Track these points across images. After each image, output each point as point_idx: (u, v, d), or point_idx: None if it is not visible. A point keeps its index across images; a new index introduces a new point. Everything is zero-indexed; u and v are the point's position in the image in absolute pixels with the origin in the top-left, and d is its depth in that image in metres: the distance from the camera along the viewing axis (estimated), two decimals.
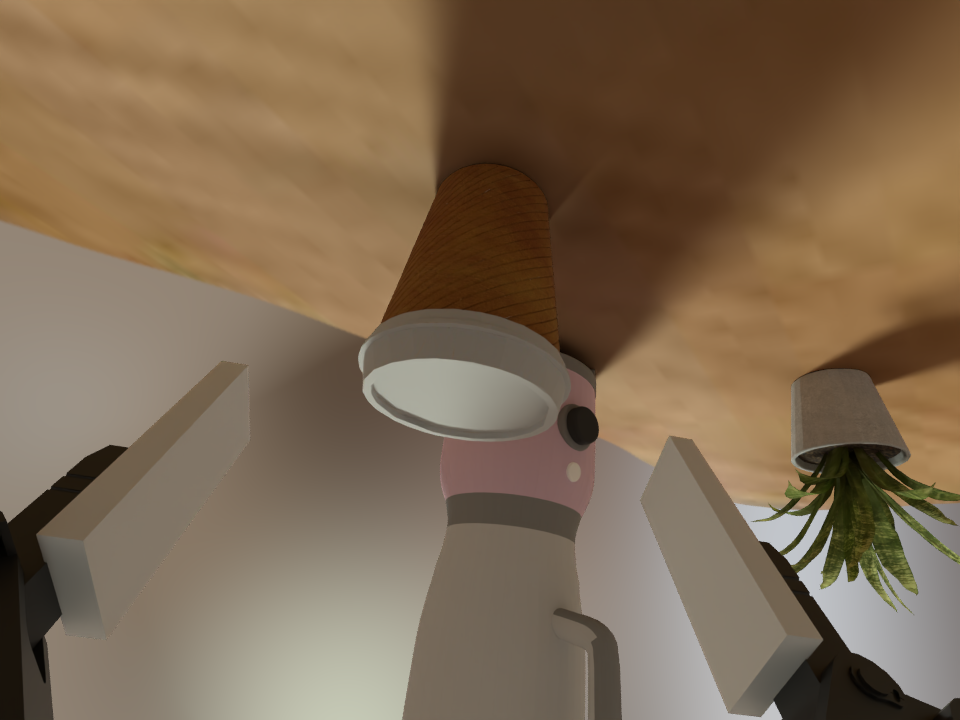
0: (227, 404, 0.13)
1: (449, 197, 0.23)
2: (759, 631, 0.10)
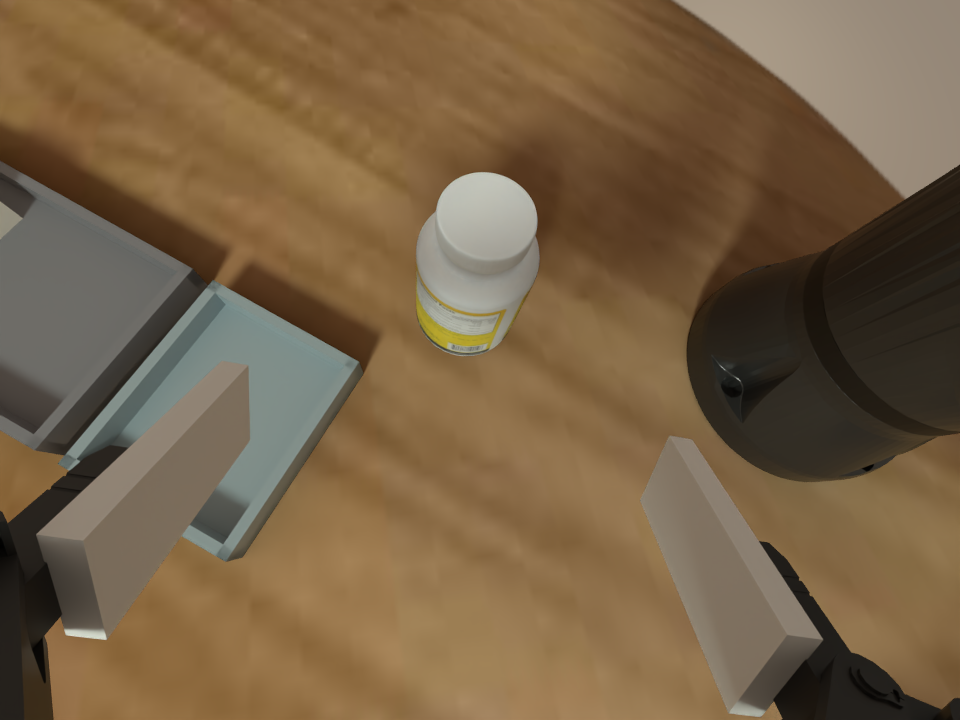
0: (228, 404, 0.13)
1: None
2: (759, 631, 0.10)
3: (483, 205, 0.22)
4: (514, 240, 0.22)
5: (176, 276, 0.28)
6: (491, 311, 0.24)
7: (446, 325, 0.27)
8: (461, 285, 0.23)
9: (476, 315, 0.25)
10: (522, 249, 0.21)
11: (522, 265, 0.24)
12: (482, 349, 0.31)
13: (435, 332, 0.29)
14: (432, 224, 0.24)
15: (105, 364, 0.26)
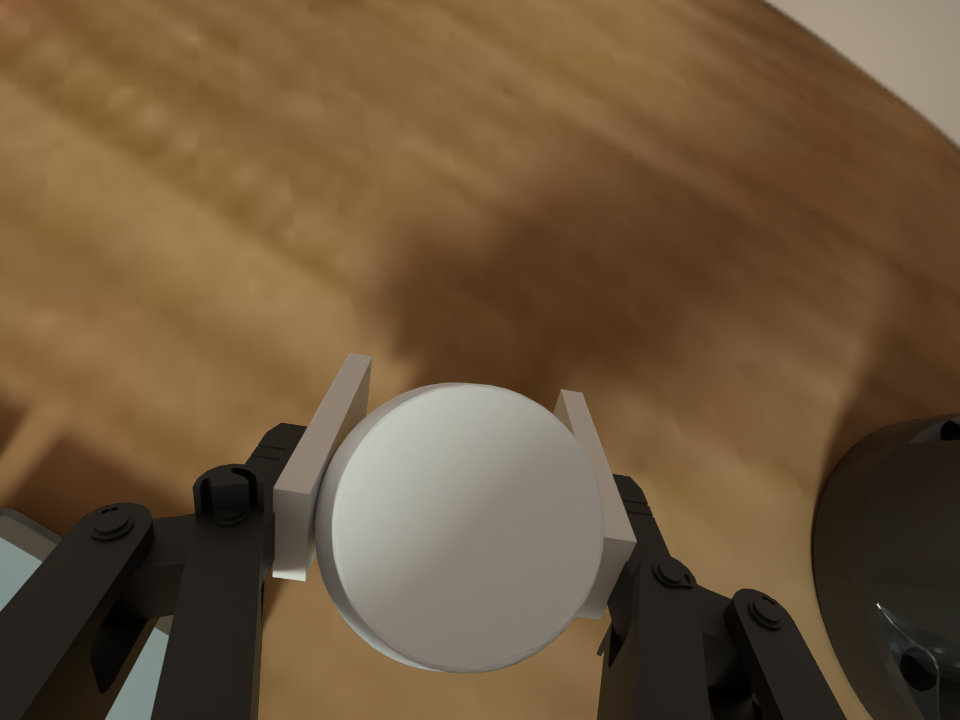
0: (362, 389, 0.15)
1: None
2: None
3: (461, 488, 0.08)
4: (546, 596, 0.08)
5: None
6: None
7: None
8: None
9: None
10: None
11: None
12: None
13: None
14: None
15: None
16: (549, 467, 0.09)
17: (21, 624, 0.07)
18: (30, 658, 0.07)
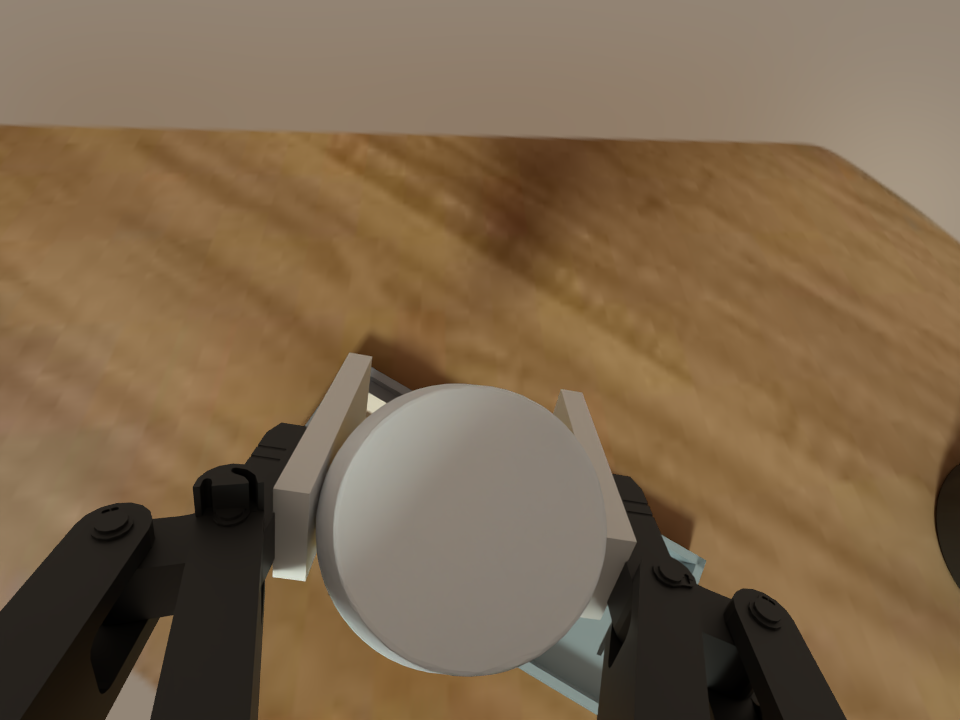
0: (362, 390, 0.15)
1: None
2: None
3: (463, 490, 0.08)
4: (548, 599, 0.08)
5: None
6: None
7: None
8: None
9: None
10: (572, 625, 0.08)
11: None
12: None
13: None
14: None
15: None
16: (551, 469, 0.08)
17: (21, 624, 0.07)
18: (30, 658, 0.07)
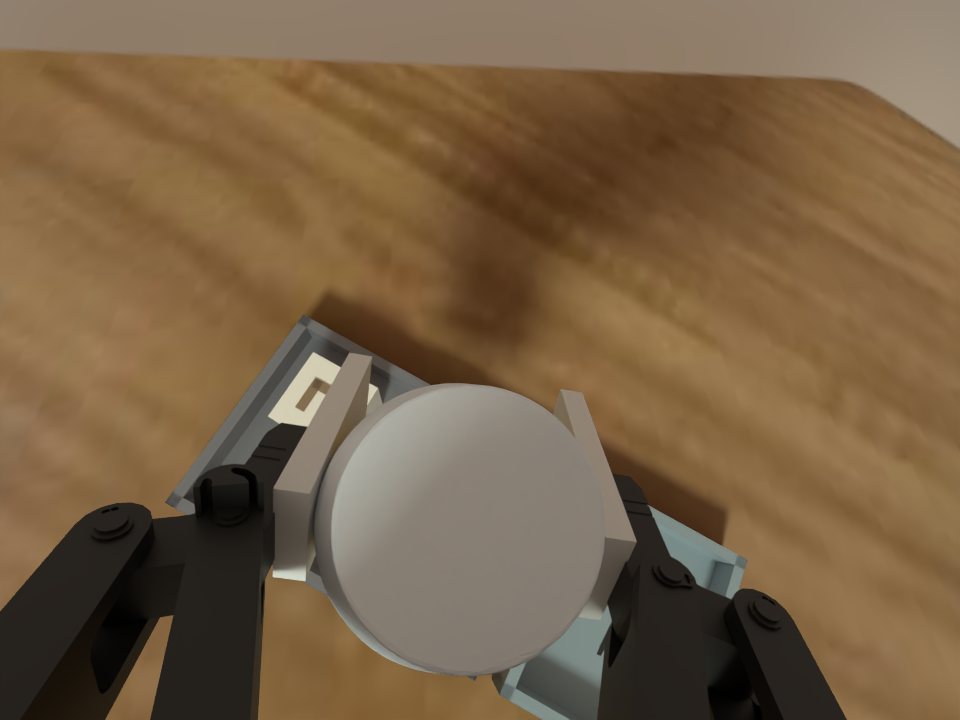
0: (362, 389, 0.15)
1: None
2: None
3: (461, 490, 0.08)
4: (546, 598, 0.08)
5: None
6: None
7: None
8: None
9: None
10: (569, 625, 0.08)
11: None
12: None
13: None
14: None
15: None
16: (550, 468, 0.08)
17: (21, 624, 0.07)
18: (30, 658, 0.07)
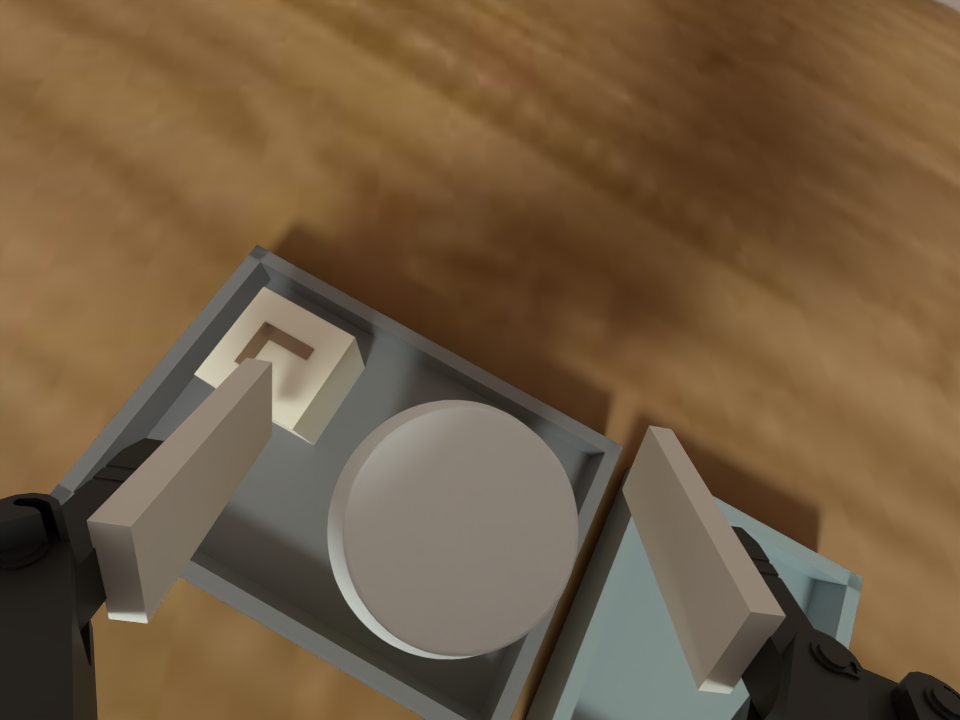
0: (254, 399, 0.13)
1: None
2: (726, 609, 0.10)
3: (454, 498, 0.10)
4: (526, 592, 0.09)
5: (605, 459, 0.20)
6: None
7: None
8: None
9: None
10: (546, 615, 0.09)
11: None
12: None
13: None
14: None
15: None
16: (531, 480, 0.10)
17: None
18: None
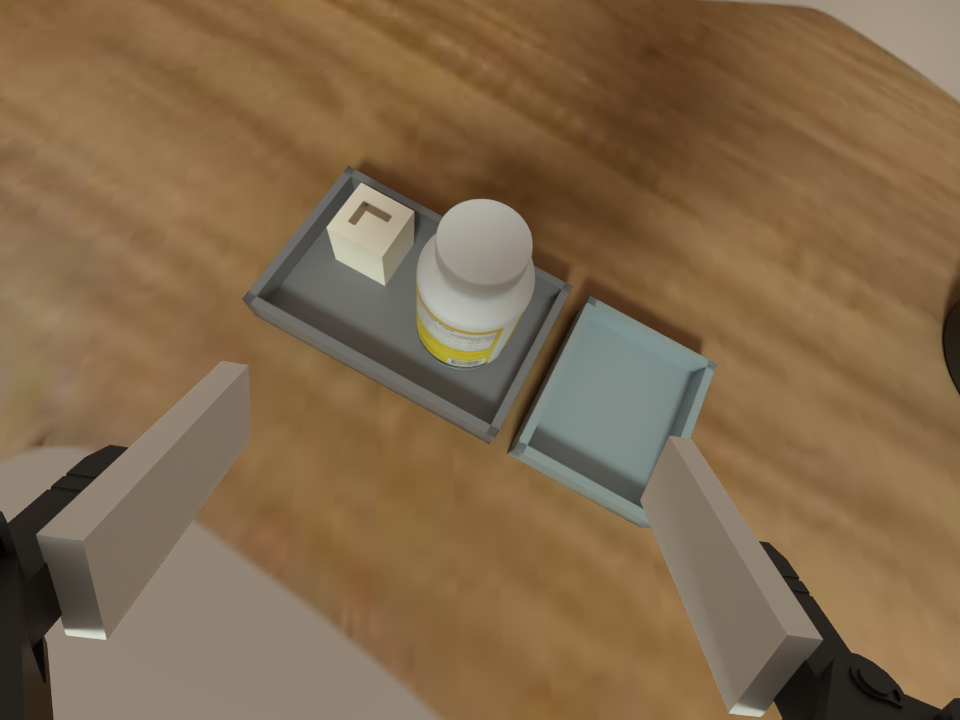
0: (227, 404, 0.13)
1: None
2: (759, 631, 0.10)
3: (481, 231, 0.23)
4: (510, 265, 0.23)
5: (561, 292, 0.34)
6: (489, 330, 0.25)
7: (446, 342, 0.28)
8: (460, 306, 0.24)
9: (474, 334, 0.26)
10: (518, 274, 0.23)
11: (519, 286, 0.25)
12: (481, 363, 0.32)
13: (435, 348, 0.30)
14: (432, 247, 0.25)
15: (528, 366, 0.32)
16: (512, 227, 0.23)
17: None
18: None
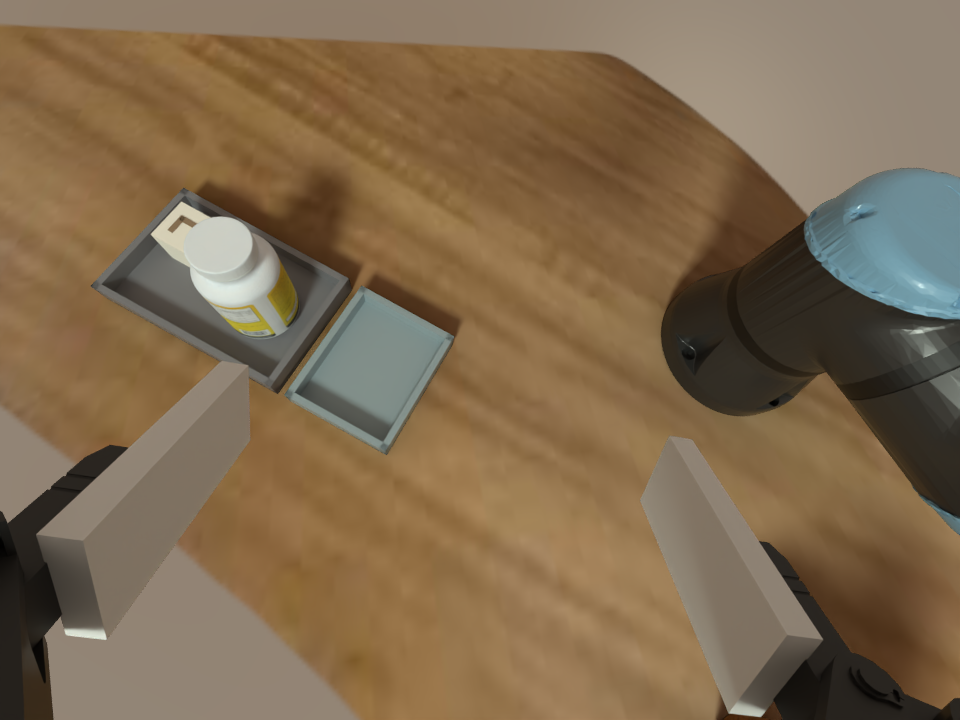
0: (227, 404, 0.13)
1: None
2: (759, 631, 0.10)
3: (216, 238, 0.34)
4: (233, 260, 0.34)
5: (339, 283, 0.45)
6: (240, 306, 0.37)
7: (224, 316, 0.39)
8: (212, 289, 0.36)
9: (231, 309, 0.37)
10: (238, 266, 0.34)
11: (257, 275, 0.37)
12: (269, 334, 0.43)
13: (227, 321, 0.41)
14: None
15: (303, 337, 0.43)
16: (239, 235, 0.35)
17: None
18: None
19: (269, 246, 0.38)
